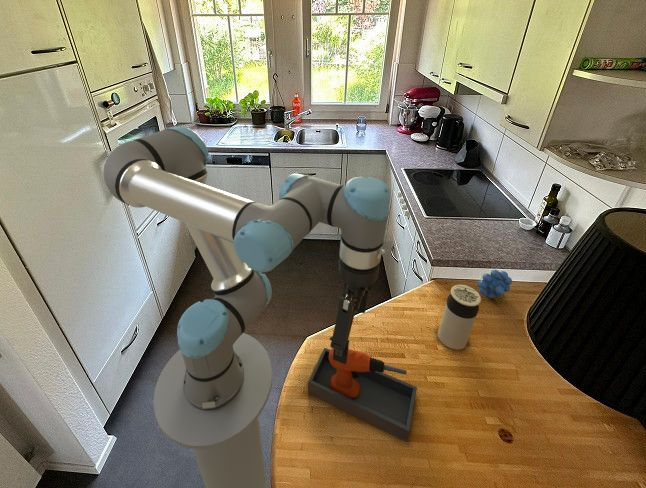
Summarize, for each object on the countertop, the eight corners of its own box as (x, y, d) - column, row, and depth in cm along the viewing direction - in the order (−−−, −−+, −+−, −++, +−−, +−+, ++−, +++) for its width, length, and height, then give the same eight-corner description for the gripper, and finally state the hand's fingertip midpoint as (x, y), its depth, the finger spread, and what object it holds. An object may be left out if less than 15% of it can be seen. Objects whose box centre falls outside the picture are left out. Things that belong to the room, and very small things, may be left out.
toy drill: (405, 415, 76) (406, 374, 69) (328, 393, 82) (322, 354, 76) (406, 395, 80) (407, 354, 73) (333, 376, 86) (328, 337, 80)
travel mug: (464, 355, 91) (480, 310, 83) (434, 342, 95) (447, 298, 86) (468, 334, 97) (483, 290, 89) (440, 322, 101) (452, 279, 92)
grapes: (480, 308, 106) (490, 281, 100) (469, 292, 112) (478, 266, 106) (514, 305, 107) (525, 278, 101) (501, 290, 112) (511, 264, 107)
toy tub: (307, 392, 82) (307, 382, 80) (324, 357, 91) (324, 347, 88) (406, 442, 73) (409, 431, 70) (414, 397, 81) (417, 387, 79)
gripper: (360, 315, 48) (348, 395, 58) (393, 227, 68) (380, 298, 78) (314, 298, 51) (311, 377, 61) (359, 218, 71) (351, 288, 81)
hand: (350, 333), depth 70 cm, fingers open, 13 cm apart
